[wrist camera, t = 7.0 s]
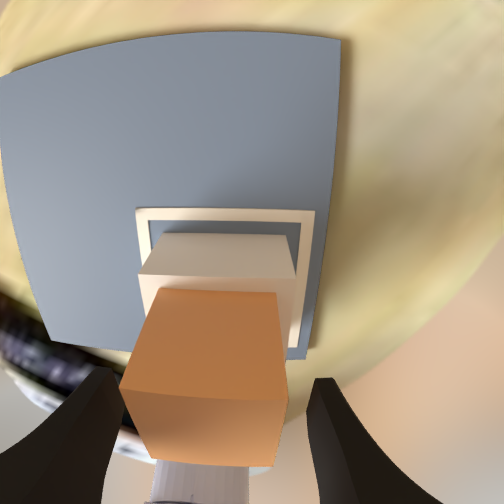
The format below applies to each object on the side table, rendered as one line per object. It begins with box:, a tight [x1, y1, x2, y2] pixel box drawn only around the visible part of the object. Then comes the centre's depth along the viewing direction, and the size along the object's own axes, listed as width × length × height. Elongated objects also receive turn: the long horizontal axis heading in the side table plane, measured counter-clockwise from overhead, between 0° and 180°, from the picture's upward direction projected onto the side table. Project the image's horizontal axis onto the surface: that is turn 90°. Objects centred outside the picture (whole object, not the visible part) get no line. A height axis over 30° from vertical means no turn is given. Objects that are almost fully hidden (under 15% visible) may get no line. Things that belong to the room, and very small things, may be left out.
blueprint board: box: [0, 31, 341, 360], centre depth 15 cm, size 18×18×1 cm
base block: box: [138, 233, 296, 363], centre depth 15 cm, size 6×6×4 cm
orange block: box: [119, 288, 289, 467], centre depth 11 cm, size 4×4×5 cm
